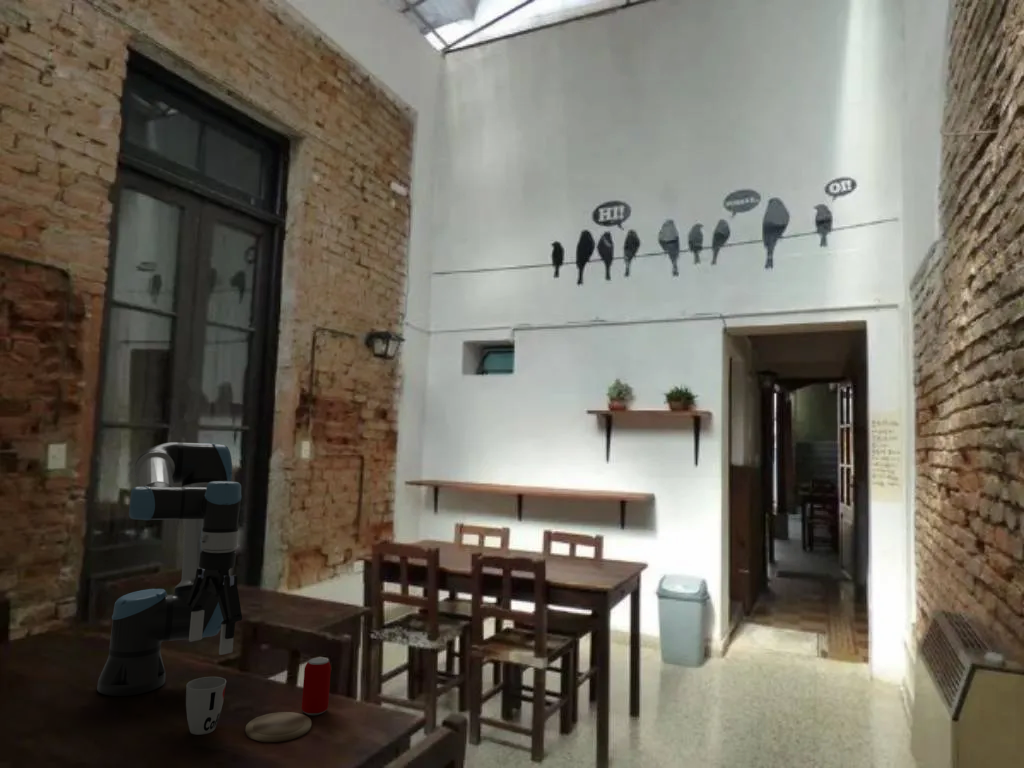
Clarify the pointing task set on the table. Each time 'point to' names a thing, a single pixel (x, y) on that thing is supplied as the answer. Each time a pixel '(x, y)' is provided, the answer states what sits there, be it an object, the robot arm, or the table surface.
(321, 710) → the beverage can
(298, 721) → the plate
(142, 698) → the table surface
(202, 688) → the cup
